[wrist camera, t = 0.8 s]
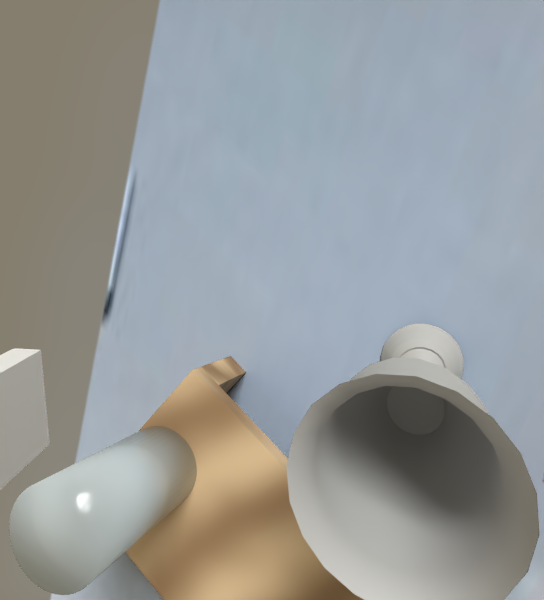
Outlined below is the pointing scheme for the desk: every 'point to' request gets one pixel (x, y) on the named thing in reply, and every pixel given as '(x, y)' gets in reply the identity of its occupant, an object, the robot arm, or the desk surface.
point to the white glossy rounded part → (99, 508)
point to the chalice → (413, 480)
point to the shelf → (229, 508)
